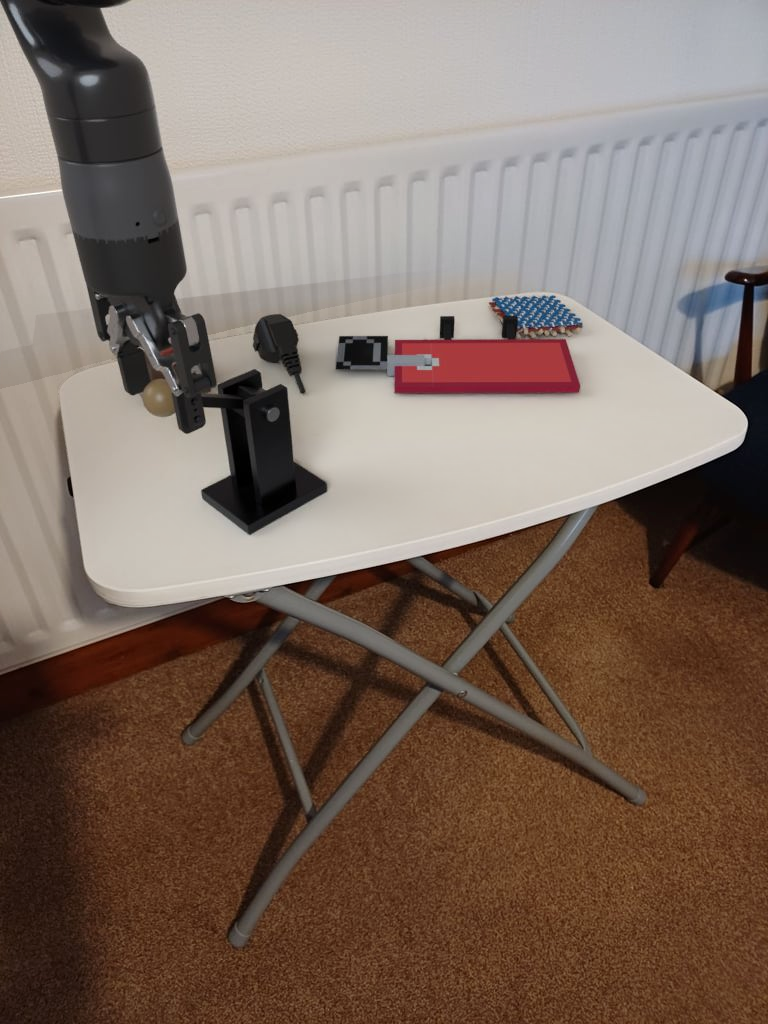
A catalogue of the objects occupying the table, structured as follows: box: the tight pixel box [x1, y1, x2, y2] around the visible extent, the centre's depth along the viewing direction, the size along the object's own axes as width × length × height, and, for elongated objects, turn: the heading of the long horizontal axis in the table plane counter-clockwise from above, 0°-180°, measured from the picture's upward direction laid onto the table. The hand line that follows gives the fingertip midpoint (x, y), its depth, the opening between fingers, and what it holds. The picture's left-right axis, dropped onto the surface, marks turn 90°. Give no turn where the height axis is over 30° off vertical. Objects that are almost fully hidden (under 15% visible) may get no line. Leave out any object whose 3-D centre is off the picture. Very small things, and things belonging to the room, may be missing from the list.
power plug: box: [252, 313, 307, 394], centre depth 100 cm, size 6×8×12 cm
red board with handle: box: [335, 315, 581, 394], centre depth 101 cm, size 30×3×15 cm
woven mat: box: [488, 294, 584, 339], centre depth 111 cm, size 10×11×2 cm
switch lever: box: [141, 379, 267, 418], centre depth 70 cm, size 13×3×3 cm, turn 133°
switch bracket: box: [200, 368, 328, 536], centre depth 77 cm, size 10×8×13 cm
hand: (165, 409), depth 67 cm, fingers open, 8 cm apart
